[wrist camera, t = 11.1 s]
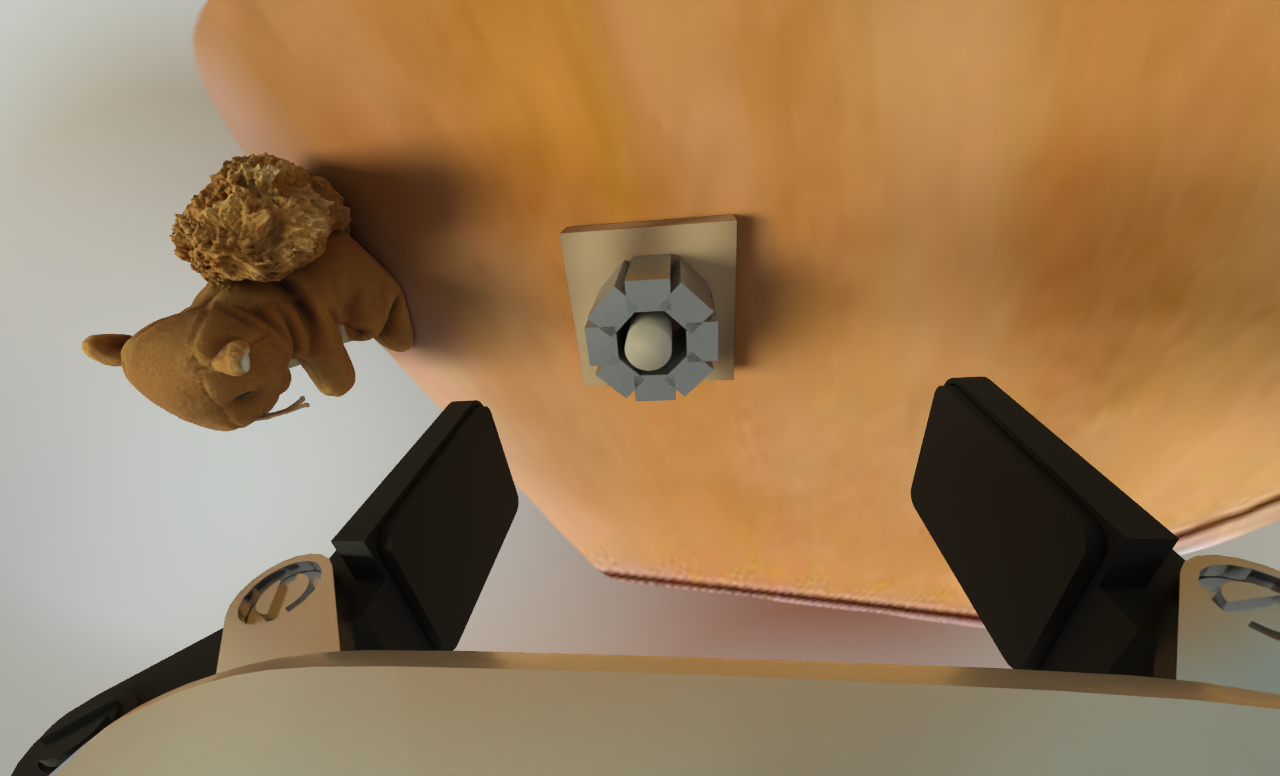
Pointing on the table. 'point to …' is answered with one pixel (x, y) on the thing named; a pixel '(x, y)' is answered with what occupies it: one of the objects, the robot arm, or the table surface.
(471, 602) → the robot arm
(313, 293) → the stuffed squirrel
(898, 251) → the table surface
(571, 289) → the shaft stand
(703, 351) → the hub
